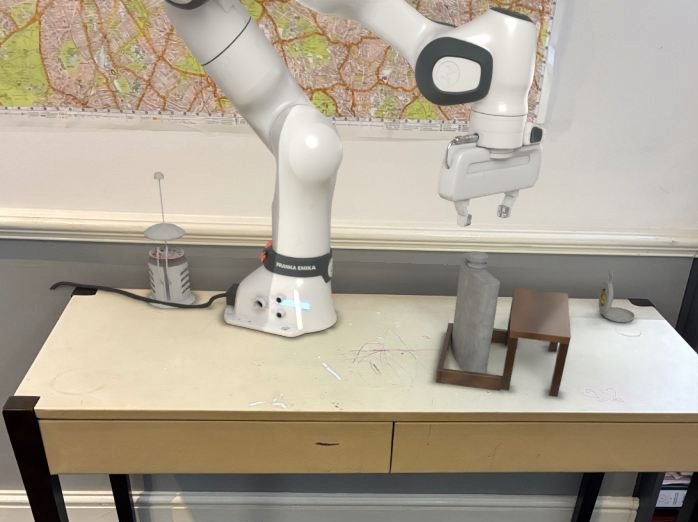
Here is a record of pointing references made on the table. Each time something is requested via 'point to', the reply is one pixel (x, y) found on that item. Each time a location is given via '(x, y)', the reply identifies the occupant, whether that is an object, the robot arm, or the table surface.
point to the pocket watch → (606, 302)
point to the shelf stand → (524, 322)
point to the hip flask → (474, 313)
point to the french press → (168, 264)
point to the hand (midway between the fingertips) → (483, 221)
